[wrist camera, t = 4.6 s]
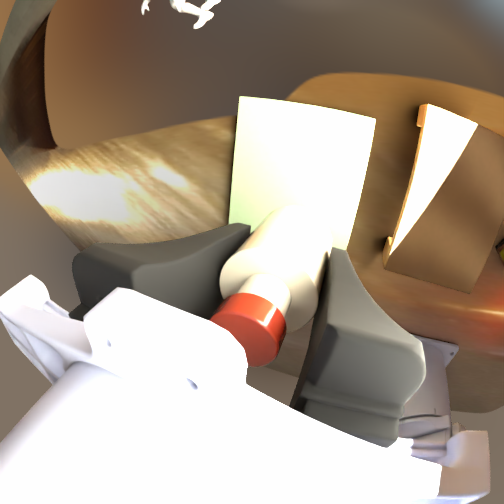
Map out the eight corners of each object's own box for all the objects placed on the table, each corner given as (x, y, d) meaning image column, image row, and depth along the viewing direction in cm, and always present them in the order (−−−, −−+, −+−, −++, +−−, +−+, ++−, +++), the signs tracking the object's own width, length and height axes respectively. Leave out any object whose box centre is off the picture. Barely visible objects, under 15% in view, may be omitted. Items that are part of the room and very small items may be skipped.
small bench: (462, 277, 19) (469, 294, 17) (382, 253, 21) (383, 269, 19) (507, 143, 13) (522, 148, 11) (419, 104, 15) (427, 103, 13)
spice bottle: (322, 282, 14) (288, 394, 8) (254, 263, 15) (188, 357, 9) (340, 216, 12) (318, 315, 6) (262, 197, 13) (182, 273, 7)
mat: (334, 284, 24) (334, 287, 23) (227, 254, 26) (226, 256, 26) (375, 119, 17) (376, 119, 16) (241, 96, 19) (239, 96, 19)
